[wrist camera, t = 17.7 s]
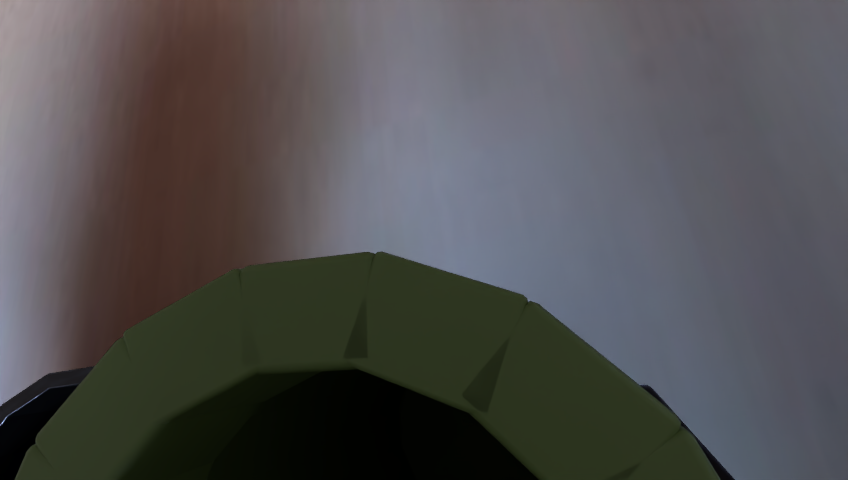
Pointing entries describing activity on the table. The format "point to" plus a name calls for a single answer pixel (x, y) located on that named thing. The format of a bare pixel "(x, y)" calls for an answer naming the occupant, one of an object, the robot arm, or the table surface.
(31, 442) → the pan
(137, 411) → the crock
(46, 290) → the table surface
